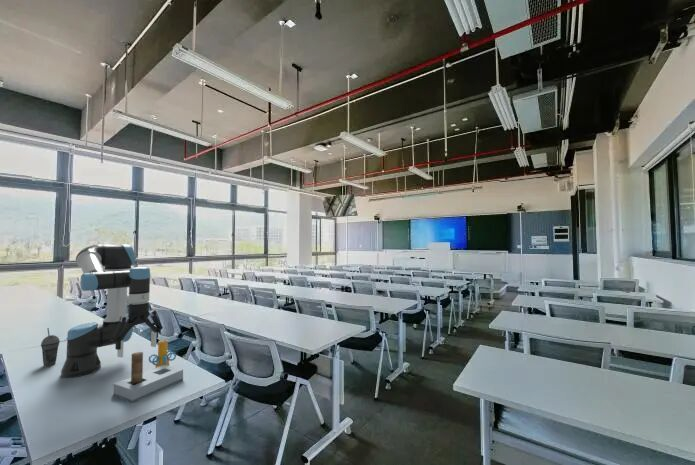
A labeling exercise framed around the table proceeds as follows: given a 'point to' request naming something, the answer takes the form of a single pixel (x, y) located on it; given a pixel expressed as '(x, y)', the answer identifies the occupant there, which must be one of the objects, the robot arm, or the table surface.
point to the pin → (137, 368)
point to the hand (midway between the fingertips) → (137, 351)
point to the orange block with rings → (162, 355)
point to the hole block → (148, 383)
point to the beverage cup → (50, 349)
